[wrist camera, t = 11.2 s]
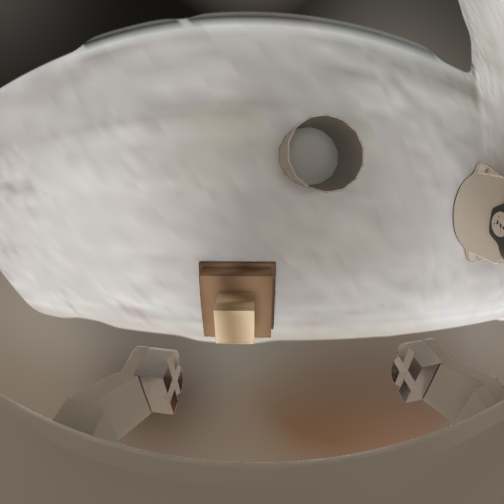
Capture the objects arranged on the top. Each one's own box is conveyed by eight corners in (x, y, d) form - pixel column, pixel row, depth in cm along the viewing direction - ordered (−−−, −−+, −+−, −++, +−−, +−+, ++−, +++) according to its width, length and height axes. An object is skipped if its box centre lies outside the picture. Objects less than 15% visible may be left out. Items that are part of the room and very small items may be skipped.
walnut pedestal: (275, 261, 40) (277, 272, 37) (273, 326, 44) (274, 340, 40) (199, 261, 40) (194, 271, 37) (204, 325, 44) (200, 339, 40)
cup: (285, 190, 37) (295, 198, 28) (272, 133, 35) (278, 121, 25) (342, 179, 37) (370, 185, 27) (330, 123, 34) (355, 111, 25)
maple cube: (254, 292, 38) (254, 311, 33) (254, 323, 39) (254, 343, 34) (218, 292, 38) (213, 310, 33) (220, 322, 39) (215, 343, 34)
